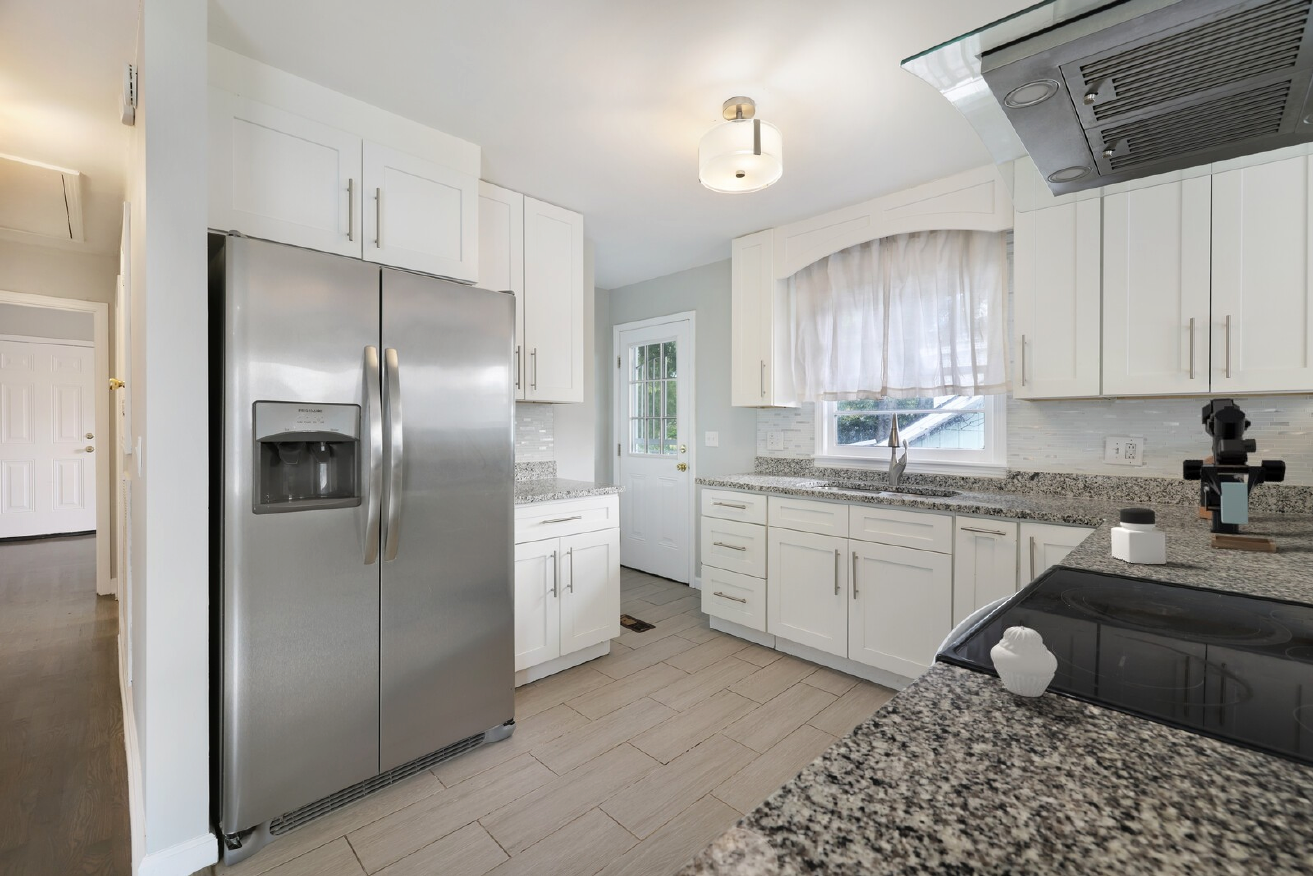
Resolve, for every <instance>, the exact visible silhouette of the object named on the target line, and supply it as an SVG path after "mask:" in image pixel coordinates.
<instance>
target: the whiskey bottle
mask: <svg viewBox="0 0 1313 876" xmlns="http://www.w3.org/2000/svg"><path fill="white" fill-rule="evenodd" d="M1211 451H1212V453H1213V443H1212V446H1211ZM1202 460H1203V463H1214V458H1213V455H1212V456H1211V455H1210V456H1209V457H1207V458H1205V459H1202ZM1234 477H1235V478H1236V479H1239V480H1240V482H1241V483H1245V475H1234ZM1208 486H1209V485H1208V484H1207V483H1204V482H1201V481H1200V506H1199V507H1198V518H1199V517H1204V518H1212V511H1206V510H1205V490H1206V491H1208ZM1208 508H1221V507H1217V506H1208Z"/></svg>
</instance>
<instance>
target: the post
mask: <svg viewBox="0 0 1313 876" xmlns="http://www.w3.org/2000/svg"><path fill="white" fill-rule="evenodd" d="M1221 487H1222V496H1221V520H1222V522H1223V523H1234V524H1239V525H1249V520H1248V519H1249V513H1248V508H1249V507H1248V495H1247V482H1244V483H1230V482H1221Z"/></svg>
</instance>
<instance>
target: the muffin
mask: <svg viewBox="0 0 1313 876" xmlns="http://www.w3.org/2000/svg"><path fill="white" fill-rule="evenodd" d="M990 658H991V660H992V663H993V666H994V668H995V670H996V672H997V674H998V676H999V678H1000V679H1001V681H1002V683H1003V684H1004V686H1005V688H1006V689H1007V691H1009V692H1010V693H1013V694H1014V695H1017V696H1022V697H1027V698H1038V697H1041V696H1042V695H1043V694H1044V692H1045V691H1046V689H1047V688H1048V686H1049V685H1050V683H1051V682H1052V681H1053V679H1054V677H1055V672H1056V670H1057V669H1058V660H1057V658H1056V656H1055V655H1054V654H1053V653H1052V652H1051V651H1049V650H1048V648H1047V646H1046V645H1045V644H1043V637H1042V636H1041V634H1040V633H1038V632H1037V631H1036V630H1034V629H1033V628H1029V627H1025V626H1023V625H1021V626H1012V627H1008V628H1007V629H1006V630H1005V631H1004V633H1003V638H1002V639H1000V640H999V643H997V644H996V645H994V646H993V647H992V648H991V650H990Z"/></svg>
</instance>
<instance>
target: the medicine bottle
mask: <svg viewBox="0 0 1313 876" xmlns="http://www.w3.org/2000/svg"><path fill="white" fill-rule="evenodd" d="M1119 518H1120V519H1119V520H1120V522H1119V524H1120V527H1119V526H1118V527H1112V528H1111V529H1110V533H1111V536H1110V537H1111V539H1110V541H1111V557H1112V556H1114V557H1116V558H1118V559H1123V560H1125V561H1127V562H1131V563H1166V564H1167V535H1166V532H1164V531H1160V530H1156V529H1154V528H1156V512H1155V511H1154V510H1152V509H1150V508H1144V507H1124V508H1121V509H1120V511H1119Z"/></svg>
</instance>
